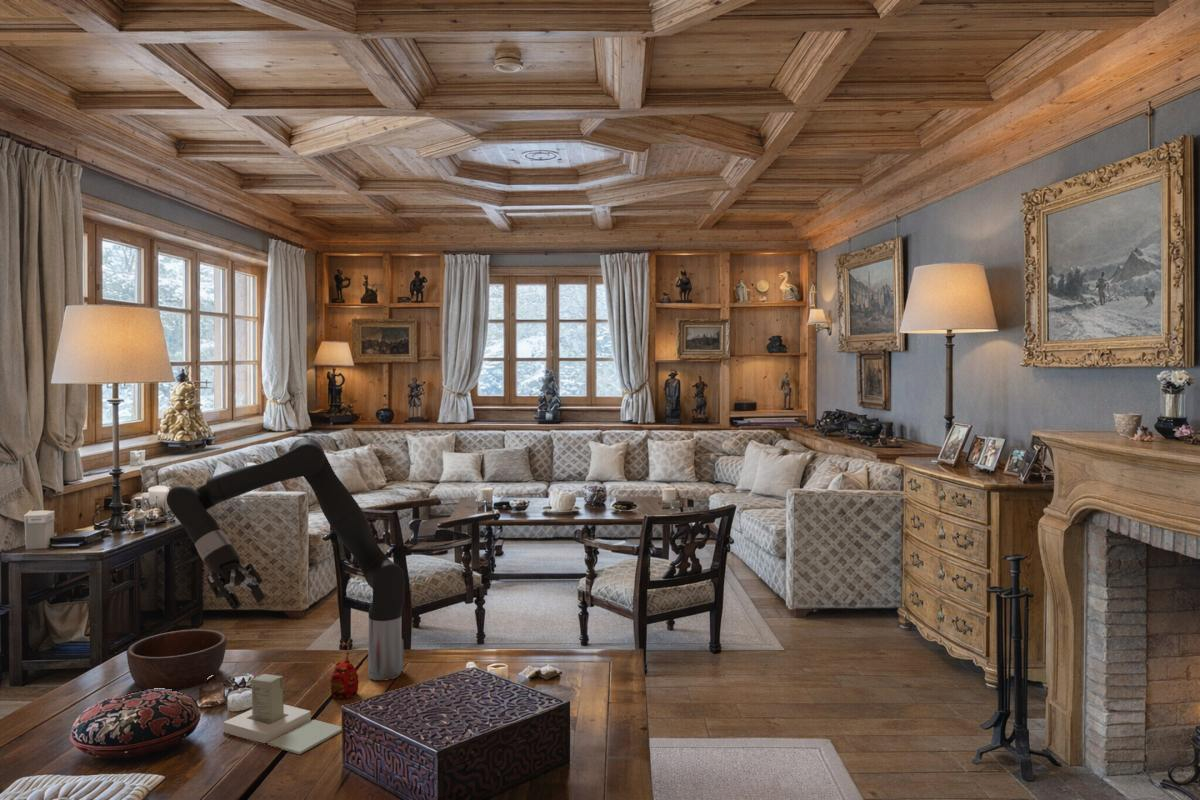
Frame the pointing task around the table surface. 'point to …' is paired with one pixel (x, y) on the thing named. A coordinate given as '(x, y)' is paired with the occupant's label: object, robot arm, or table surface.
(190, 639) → the wooden bowl
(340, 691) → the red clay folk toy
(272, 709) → the skincare box
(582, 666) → the table surface
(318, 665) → the table surface
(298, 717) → the holder block
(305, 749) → the green tile
